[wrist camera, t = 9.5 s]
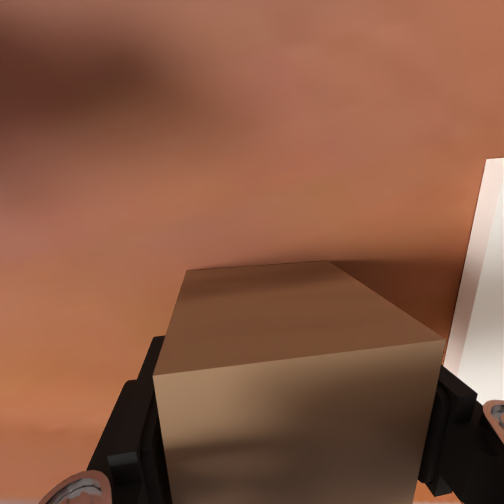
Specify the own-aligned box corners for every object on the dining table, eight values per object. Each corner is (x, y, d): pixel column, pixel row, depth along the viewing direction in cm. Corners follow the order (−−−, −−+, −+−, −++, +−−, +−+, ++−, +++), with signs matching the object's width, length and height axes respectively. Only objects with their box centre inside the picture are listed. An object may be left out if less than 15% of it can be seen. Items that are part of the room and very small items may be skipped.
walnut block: (187, 268, 10) (152, 375, 4) (325, 259, 11) (446, 339, 5) (198, 388, 12) (184, 580, 6) (319, 372, 13) (407, 528, 7)
